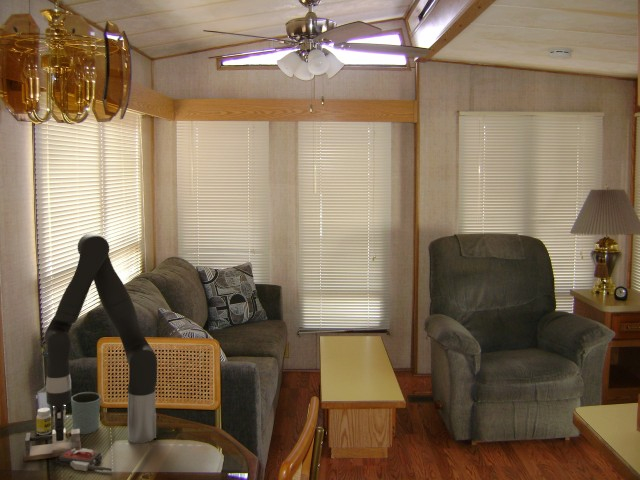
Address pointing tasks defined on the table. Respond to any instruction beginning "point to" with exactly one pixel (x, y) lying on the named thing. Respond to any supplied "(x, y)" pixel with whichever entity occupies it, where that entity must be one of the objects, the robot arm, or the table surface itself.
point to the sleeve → (55, 437)
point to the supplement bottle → (43, 421)
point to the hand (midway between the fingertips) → (60, 434)
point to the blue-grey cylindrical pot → (85, 411)
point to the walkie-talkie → (81, 459)
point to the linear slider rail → (50, 446)
